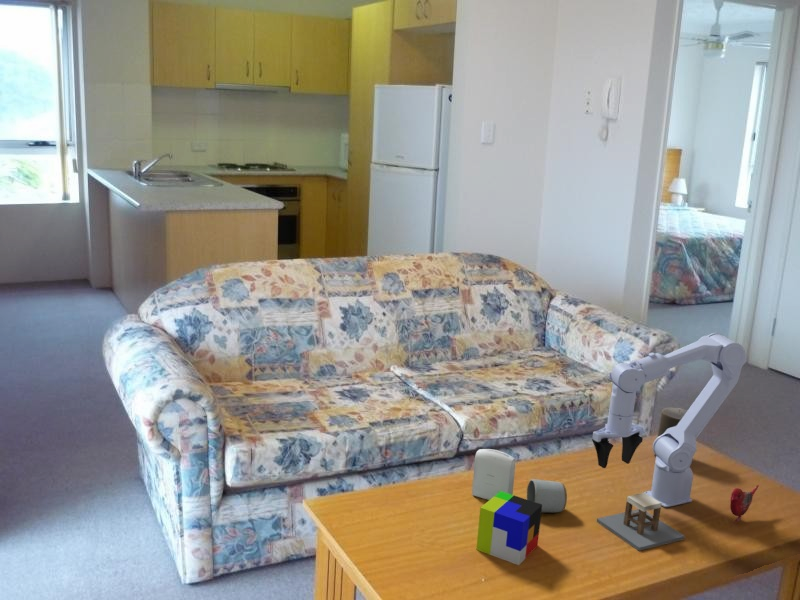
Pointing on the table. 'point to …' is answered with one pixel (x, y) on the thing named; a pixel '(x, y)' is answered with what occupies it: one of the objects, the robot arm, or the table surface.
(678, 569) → the table surface
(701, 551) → the table surface
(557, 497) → the ceramic mug
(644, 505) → the stool
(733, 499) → the decorative bird figurine
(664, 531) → the mat
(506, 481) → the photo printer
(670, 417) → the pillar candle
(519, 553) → the puzzle toy
